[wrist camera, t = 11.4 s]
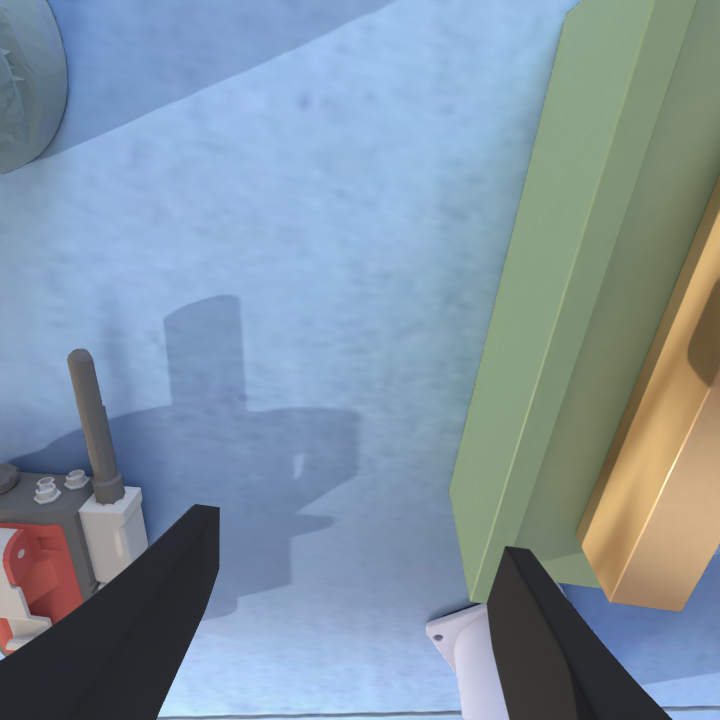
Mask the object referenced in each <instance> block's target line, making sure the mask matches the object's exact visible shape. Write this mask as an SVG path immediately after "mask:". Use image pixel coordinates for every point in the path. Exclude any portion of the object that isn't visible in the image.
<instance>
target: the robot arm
mask: <svg viewBox="0 0 720 720" xmlns="http://www.w3.org/2000/svg"><path fill="white" fill-rule="evenodd" d="M219 526H220V507H213V506H205V505H198V504H195V505H194V506H192V507H191V508H190V509H189V510H188V511H187V512H186V513H185V514H184V515H183V516H182V517H181V518H180V519H179V520H178V521H177V522H176V523H174V524H173V525H172V526H171V527H170V528H169V529H168V530H167V531H166V532H165V533H164V534H163V535H162V536H161V537H160V538H159V539H158V540H157V541H156V542H154V543H153V544H152V545H151V546H150V547H149V548H148V549H147V550H146V551H144V552H143V553H142V554H141V555H140V556H139V557H138V558H137V559H136V560H134V561H133V562H132V563H131V564H130V565H129V566H128V567H127V568H125V569H124V570H123V571H122V572H121V573H119V574H118V575H117V576H116V577H115V578H113V579H112V580H111V581H110V582H108V583H107V584H106V585H105V586H104V587H102V588H101V589H100V590H99V591H97V592H96V593H95V594H94V595H93V596H91V597H90V598H89V599H88V600H86V601H85V602H84V603H82V604H81V605H80V606H78V607H77V608H76V609H74V610H73V611H72V612H70V613H69V614H68V615H66V616H65V617H64V618H62V619H61V620H59V621H58V622H57V623H55V624H54V625H52V626H51V627H50V628H48V629H47V630H45V631H44V632H43V633H41V634H40V635H38V636H37V637H35V638H34V639H32V640H31V641H29V642H28V643H26V644H25V645H23V646H22V647H20V648H19V649H17V650H16V651H14V652H13V653H11V654H10V655H8V656H7V657H5V658H3V659H2V660H0V720H156V719H157V716H158V714H159V712H160V709H161V707H162V705H163V702H164V700H165V698H166V696H167V694H168V691H169V689H170V687H171V685H172V683H173V680H174V678H175V676H176V674H177V672H178V669H179V667H180V665H181V663H182V661H183V659H184V656H185V654H186V652H187V650H188V648H189V645H190V643H191V641H192V639H193V637H194V634H195V632H196V630H197V628H198V625H199V623H200V621H201V619H202V617H203V614H204V612H205V610H206V607H207V604H208V601H209V598H210V595H211V592H212V589H213V586H214V583H215V580H216V577H217V574H218V571H219ZM426 633H427V635H428V636H429V637H430V639H431V640H432V642H433V643H434V644H435V646H436V647H437V648H438V650H439V651H440V653H441V654H442V655H443V657H444V658H445V659H446V661H447V662H448V663H449V665H450V666H451V668H452V669H453V670H454V672H455V673H456V674H457V680H458V687H459V695H460V702H461V709H462V717H463V720H672V719H671V718H670V717H669V715H668V714H667V713H666V712H665V711H664V710H663V709H662V708H661V707H660V706H659V705H658V704H657V703H656V702H655V701H654V700H653V699H652V698H651V697H650V696H649V695H648V694H647V693H646V692H645V691H644V690H643V689H642V687H641V686H640V685H639V684H638V683H637V682H636V681H635V680H634V679H633V678H632V677H631V675H630V674H629V673H628V672H627V671H626V670H625V669H624V667H623V666H622V665H621V664H620V663H619V662H618V661H617V659H616V658H615V657H614V656H613V655H612V654H611V653H610V651H609V650H608V649H607V648H606V647H605V646H604V644H603V643H602V642H601V641H600V640H599V638H598V637H597V636H596V635H595V633H594V632H593V631H592V630H591V629H590V627H589V626H588V625H587V624H586V622H585V621H584V620H583V619H582V617H581V616H580V615H579V613H578V612H577V611H576V610H575V608H574V607H573V606H572V605H571V603H570V602H569V601H568V599H567V597H566V595H565V594H564V592H563V590H562V588H561V586H560V585H559V583H558V582H554V581H553V579H552V578H551V577H550V575H549V574H548V573H547V571H546V570H545V569H544V567H543V566H542V565H541V563H540V562H539V561H538V559H537V558H536V557H535V555H534V554H533V553H532V551H531V550H530V549H526V548H519V547H511V546H505V548H504V551H503V554H502V558H501V561H500V564H499V567H498V570H497V573H496V576H495V579H494V582H493V585H492V588H491V591H490V594H489V597H488V601H487V604H483V603H482V604H479V605H476V606H473V607H470V608H468V609H465V610H462V611H459V612H456V613H453V614H450V615H447V616H444V617H441V618H438V619H435V620H433V621H430V622H428V623H427V624H426Z"/></svg>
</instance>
